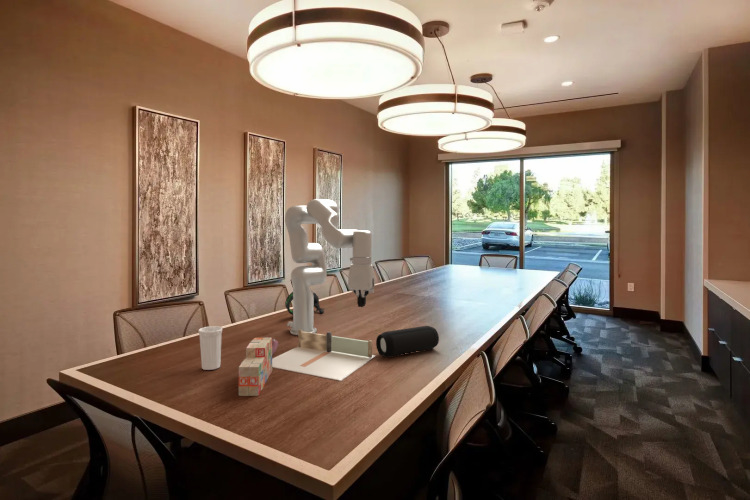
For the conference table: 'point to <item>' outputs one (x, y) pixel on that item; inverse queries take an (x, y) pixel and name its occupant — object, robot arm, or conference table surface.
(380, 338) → the portable speaker
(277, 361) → the card
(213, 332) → the cup
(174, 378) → the conference table surface
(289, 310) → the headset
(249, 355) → the stack of blocks
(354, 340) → the folding fence panel
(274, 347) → the video game controller
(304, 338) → the fixed fence section
